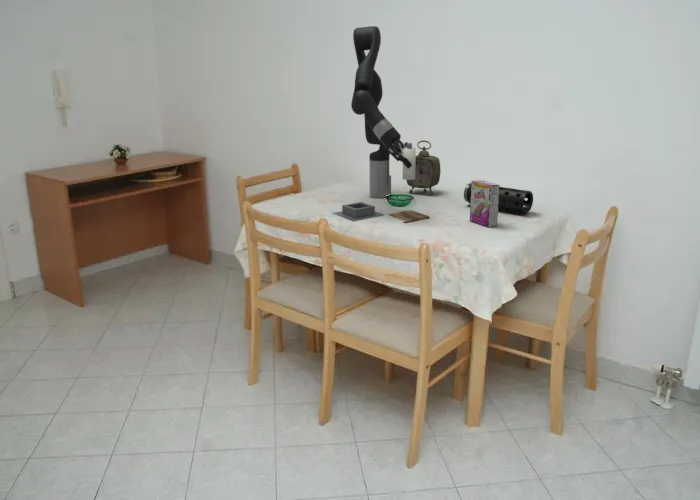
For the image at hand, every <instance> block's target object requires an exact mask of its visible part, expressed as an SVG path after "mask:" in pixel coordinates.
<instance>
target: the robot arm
mask: <svg viewBox="0 0 700 500" xmlns="http://www.w3.org/2000/svg"><path fill="white" fill-rule="evenodd" d="M381 35H382V34H381V31H380V28H379V27H378V26H376V25H375V26H374V25H373V26H372V25H371V26H363V27H356V28H354V29H353V35H352V36H353V37H352V38H353V44H354V45H353V46H354V51H355V55H356V56H355V57H356V61H357V66H358V67H357V69H356V72H355V78H354V89H353V93H352V99H351V102H350V103H351V105H350V106H351V110H352V112H353V113H354V114H356V115H359V116H361V115H363V117H364V133H365V140H366V143H368V144H370V145H376V146H379V147H378V149H377V150H376V151H372V152H370V153H369V155H368V156H369V158H368V159H369V160H368V161H369V197H370V198H375V199H385V198H387V197H386V195H389V194H391V195H392V175H390V156H391V157H393V159H395V160H396V161H397V162H401V163H402V165H403V164H404V165H405V166H406V167H407V168H410V167H411V166H412V164H411V163H410V162H409V160H408V159H407V158H406V157H405V155H404V151H403V148H407V143H408V142H403V141H401V138H402V135H401V134H400V132H398V130H397V129H396V128H395V127H394V126H393V124H392V123H391V121H389V120H388V119H387V118H386V117H385V115H384V114H383V113H382V112H381V111H380V109H379V105H380V103H381V100H382V98H383V94H384V93H383V85H382V78H381V77H380V75H379V74H378V72H377V71H376V70H375V66H376V62H377V59H378V55H379V51H380V49H381V48H380V47H381V44H382V43H381V41H382V38H381V37H382V36H381ZM365 51H368V53H367V55H366V52H365ZM417 164H418V162H417V160H416V163H415V166H416V165H417Z"/></svg>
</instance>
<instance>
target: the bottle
mask: <svg viewBox="0 0 700 500" xmlns="http://www.w3.org/2000/svg"><path fill="white" fill-rule="evenodd" d="M403 151H404V155H405V157H406V158H407V159H408V160H409V162H410V163H411V164H412V166H411V167H410V168H407V167H406V166H405V165H404V164H403V163H402V180H406V181H407V180H414V179H415V163H416V156H417V154H416V153H417V149H416V148H415V147H413V143H412V142H407V148H403Z"/></svg>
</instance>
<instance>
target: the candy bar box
mask: <svg viewBox="0 0 700 500" xmlns="http://www.w3.org/2000/svg"><path fill="white" fill-rule="evenodd" d="M470 183H471V203H469V204H470V205H469V206H470V207H469V222H472V223H475V224H478V225H481V226H483V227H486V228H494V227H497V226H498V221H499V220H498V217H499V216H498V215H499V209H498V205H499V188H500V187H501V184H498V183H494V182H491V181H487V180H483V179H475V180H471V182H470Z"/></svg>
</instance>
